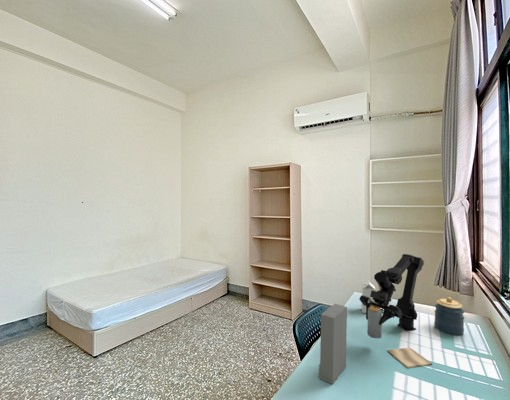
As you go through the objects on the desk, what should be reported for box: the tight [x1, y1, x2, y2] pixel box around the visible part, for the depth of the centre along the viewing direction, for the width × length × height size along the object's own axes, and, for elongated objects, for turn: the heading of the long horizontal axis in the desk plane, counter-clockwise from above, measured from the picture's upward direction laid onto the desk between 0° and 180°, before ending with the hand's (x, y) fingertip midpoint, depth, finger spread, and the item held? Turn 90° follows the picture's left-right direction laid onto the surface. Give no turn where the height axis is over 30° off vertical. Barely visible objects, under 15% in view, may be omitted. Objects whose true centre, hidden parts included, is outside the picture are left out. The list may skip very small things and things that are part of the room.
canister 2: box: [433, 296, 465, 336], centre depth 142 cm, size 13×13×18 cm
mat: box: [387, 347, 433, 369], centre depth 116 cm, size 12×12×1 cm
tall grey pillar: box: [317, 303, 348, 385], centre depth 106 cm, size 14×6×25 cm, turn 141°
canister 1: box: [366, 306, 383, 339], centre depth 124 cm, size 6×6×13 cm
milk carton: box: [361, 279, 377, 314], centre depth 164 cm, size 7×7×19 cm
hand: (372, 321), depth 123 cm, fingers closed on canister 1, 6 cm apart
